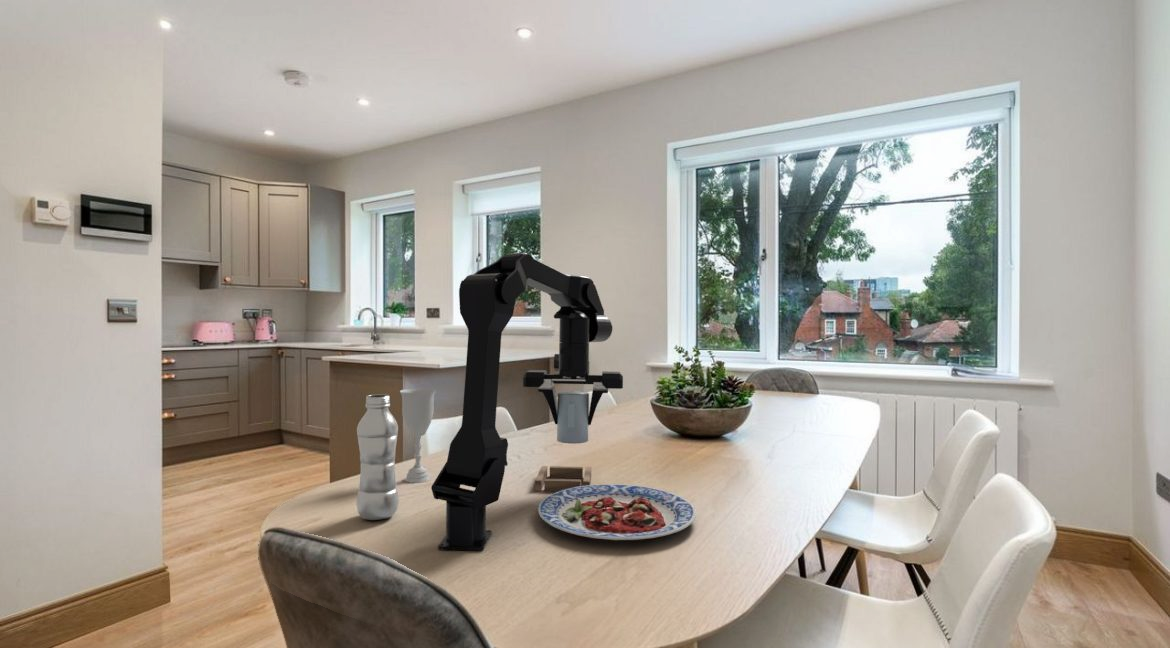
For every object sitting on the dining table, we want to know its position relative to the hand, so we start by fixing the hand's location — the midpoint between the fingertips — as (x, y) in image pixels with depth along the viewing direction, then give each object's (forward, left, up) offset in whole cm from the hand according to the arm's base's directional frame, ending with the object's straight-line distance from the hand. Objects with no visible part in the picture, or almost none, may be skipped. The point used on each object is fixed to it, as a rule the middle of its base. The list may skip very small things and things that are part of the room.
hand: (572, 424), depth 107 cm
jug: (0, 0, -3) cm, 3 cm away
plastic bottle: (-17, +31, -13) cm, 37 cm away
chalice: (+5, +32, -13) cm, 35 cm away
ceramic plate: (-15, -8, -13) cm, 21 cm away
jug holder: (+4, +2, -13) cm, 13 cm away
